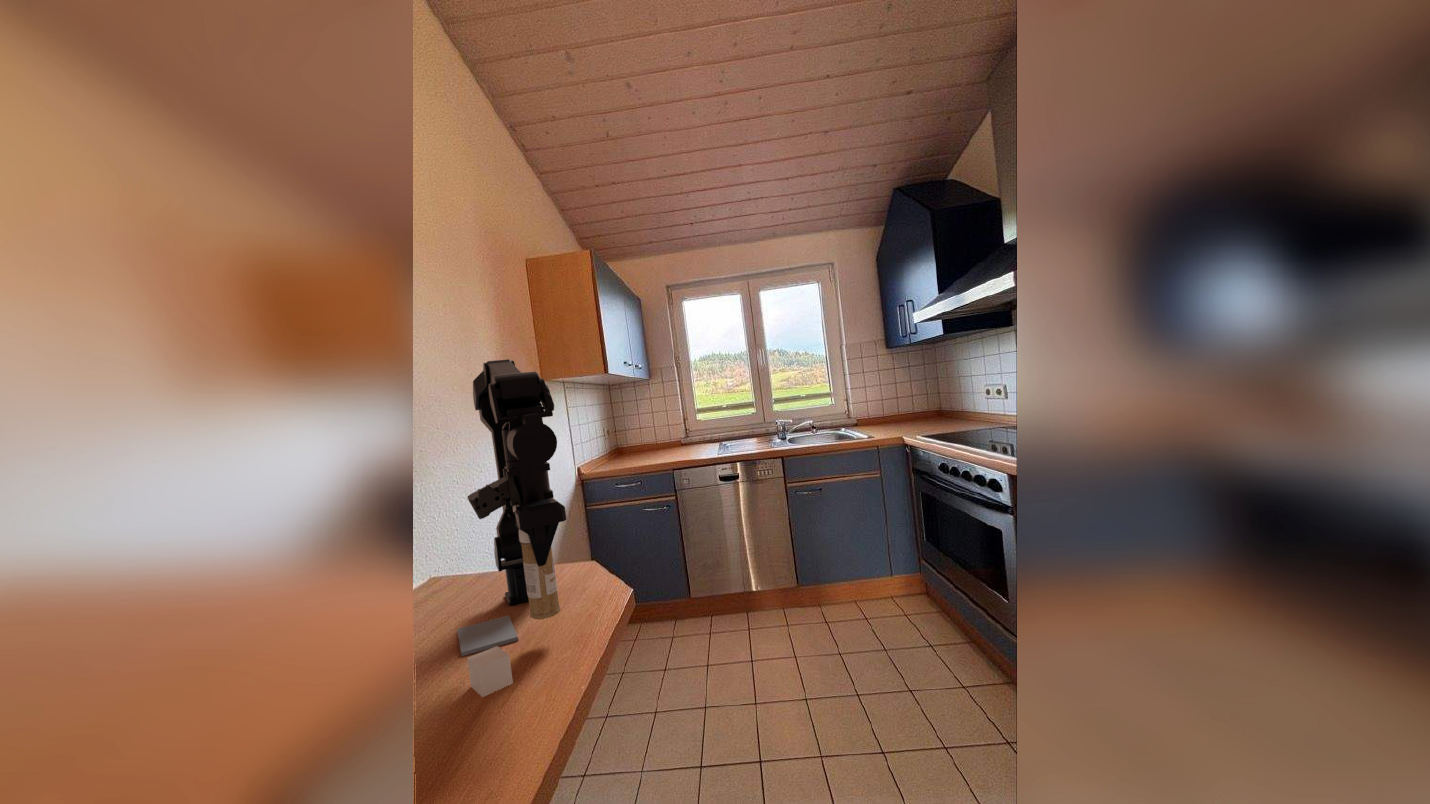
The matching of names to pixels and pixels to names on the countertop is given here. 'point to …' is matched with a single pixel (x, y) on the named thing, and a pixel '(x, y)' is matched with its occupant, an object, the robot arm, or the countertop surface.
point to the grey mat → (486, 635)
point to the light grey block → (490, 671)
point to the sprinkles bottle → (539, 582)
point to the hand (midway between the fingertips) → (538, 561)
